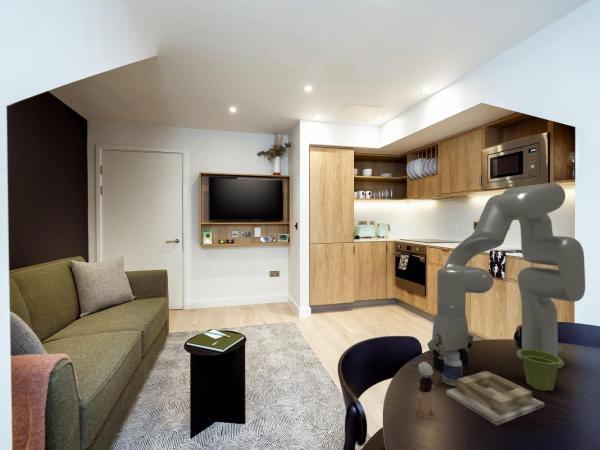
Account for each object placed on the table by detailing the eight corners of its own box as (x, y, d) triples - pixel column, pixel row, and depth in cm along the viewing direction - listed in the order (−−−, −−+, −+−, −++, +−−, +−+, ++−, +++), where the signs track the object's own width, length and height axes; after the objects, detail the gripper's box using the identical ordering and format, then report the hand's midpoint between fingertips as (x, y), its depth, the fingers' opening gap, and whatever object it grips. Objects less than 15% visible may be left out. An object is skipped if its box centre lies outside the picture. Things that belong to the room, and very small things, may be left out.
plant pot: (561, 399, 79) (560, 366, 79) (517, 386, 85) (517, 356, 85) (562, 385, 86) (561, 355, 86) (521, 374, 92) (521, 346, 92)
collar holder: (490, 380, 88) (490, 367, 88) (544, 406, 76) (544, 391, 76) (446, 394, 82) (445, 379, 82) (496, 425, 69) (496, 408, 69)
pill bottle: (465, 387, 85) (464, 356, 85) (445, 385, 86) (444, 355, 86) (459, 378, 90) (458, 348, 90) (440, 376, 91) (440, 347, 91)
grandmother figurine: (420, 404, 77) (420, 355, 77) (436, 409, 75) (436, 359, 75) (413, 420, 71) (412, 367, 71) (430, 426, 69) (429, 371, 69)
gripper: (461, 304, 95) (460, 358, 95) (419, 309, 88) (418, 367, 88) (483, 310, 88) (483, 368, 88) (439, 316, 81) (439, 379, 81)
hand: (451, 367), depth 88 cm, fingers open, 9 cm apart
